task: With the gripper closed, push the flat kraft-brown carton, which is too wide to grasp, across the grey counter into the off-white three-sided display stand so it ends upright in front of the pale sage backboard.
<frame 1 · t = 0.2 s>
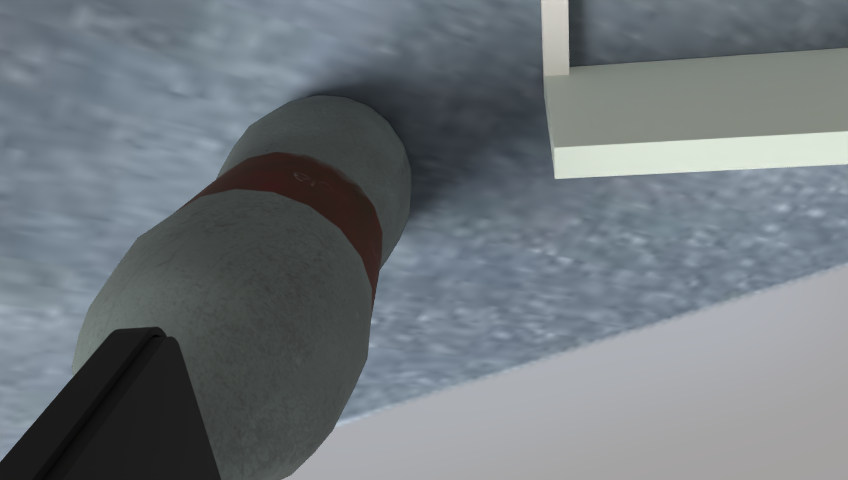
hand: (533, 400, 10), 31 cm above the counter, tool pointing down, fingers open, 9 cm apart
bottle: (334, 164, 43), on the counter
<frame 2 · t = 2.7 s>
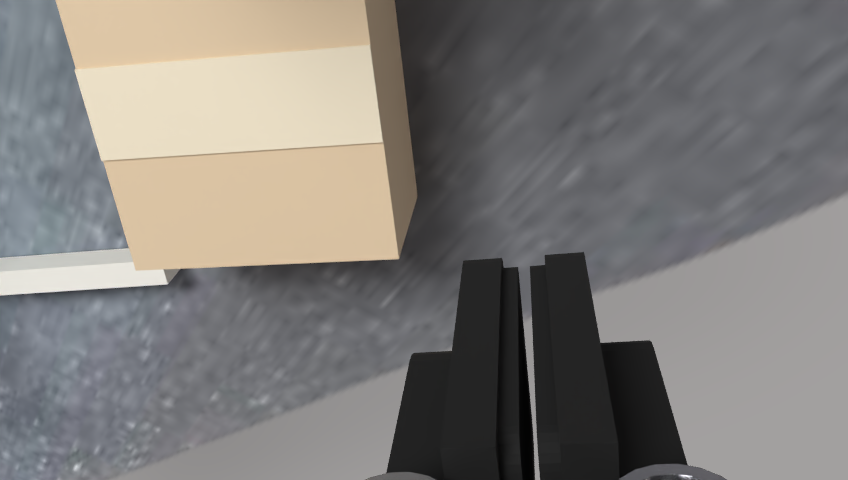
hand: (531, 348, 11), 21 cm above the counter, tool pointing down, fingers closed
kraft carton: (278, 62, 31), on the counter
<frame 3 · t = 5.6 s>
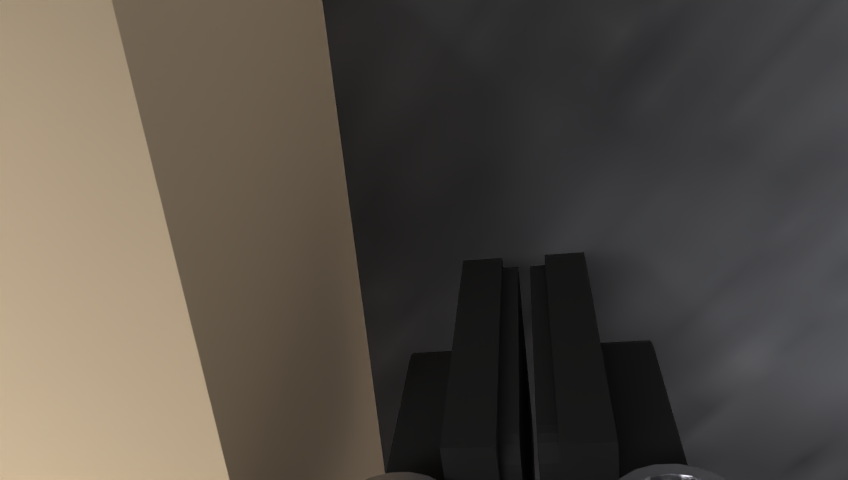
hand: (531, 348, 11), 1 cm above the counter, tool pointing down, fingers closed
kraft carton: (87, 310, 14), on the counter, touching gripper
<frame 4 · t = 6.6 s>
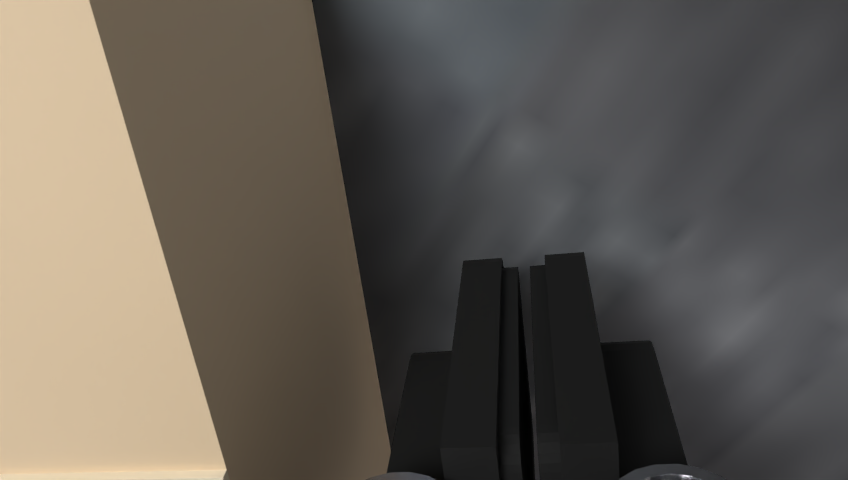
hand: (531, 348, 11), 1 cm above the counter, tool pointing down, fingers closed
kraft carton: (91, 307, 14), on the counter
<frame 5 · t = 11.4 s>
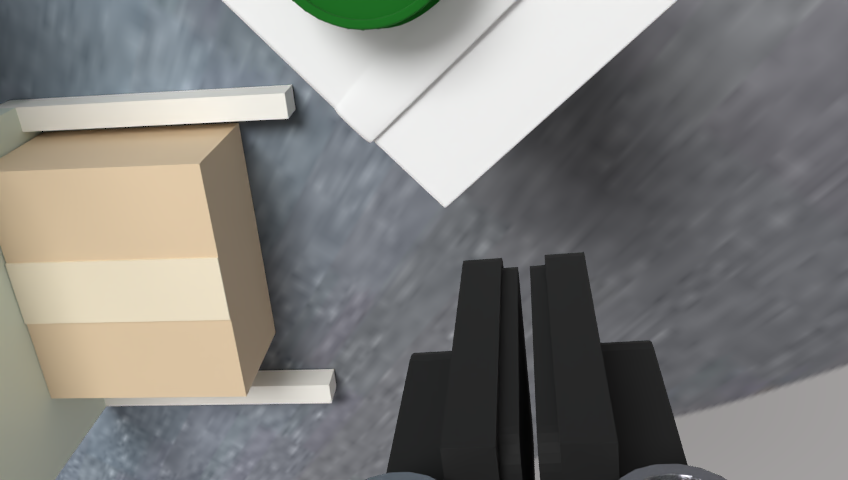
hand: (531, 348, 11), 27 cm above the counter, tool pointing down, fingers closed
kraft carton: (167, 235, 41), on the counter
display stand: (195, 253, 41), on the counter
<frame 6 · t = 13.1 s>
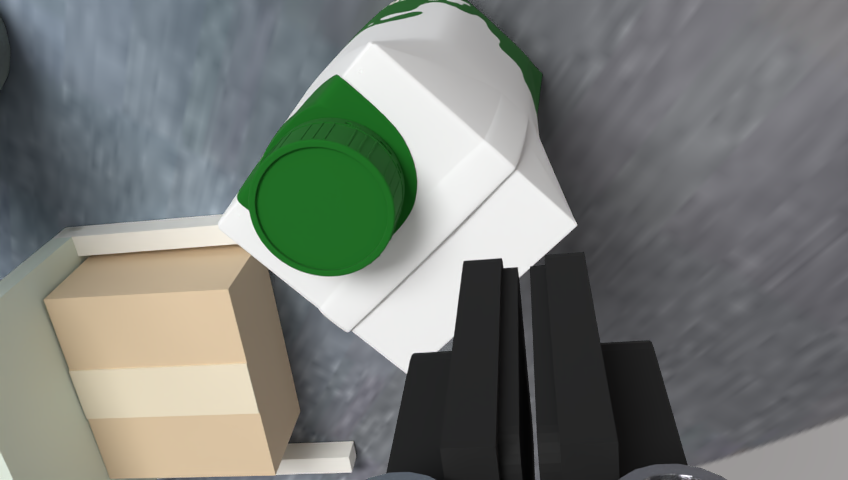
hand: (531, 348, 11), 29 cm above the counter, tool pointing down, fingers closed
kraft carton: (203, 331, 48), on the counter
milk carton: (443, 77, 39), on the counter
display stand: (228, 347, 48), on the counter
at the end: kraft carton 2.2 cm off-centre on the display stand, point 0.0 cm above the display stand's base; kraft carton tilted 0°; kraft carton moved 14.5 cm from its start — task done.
